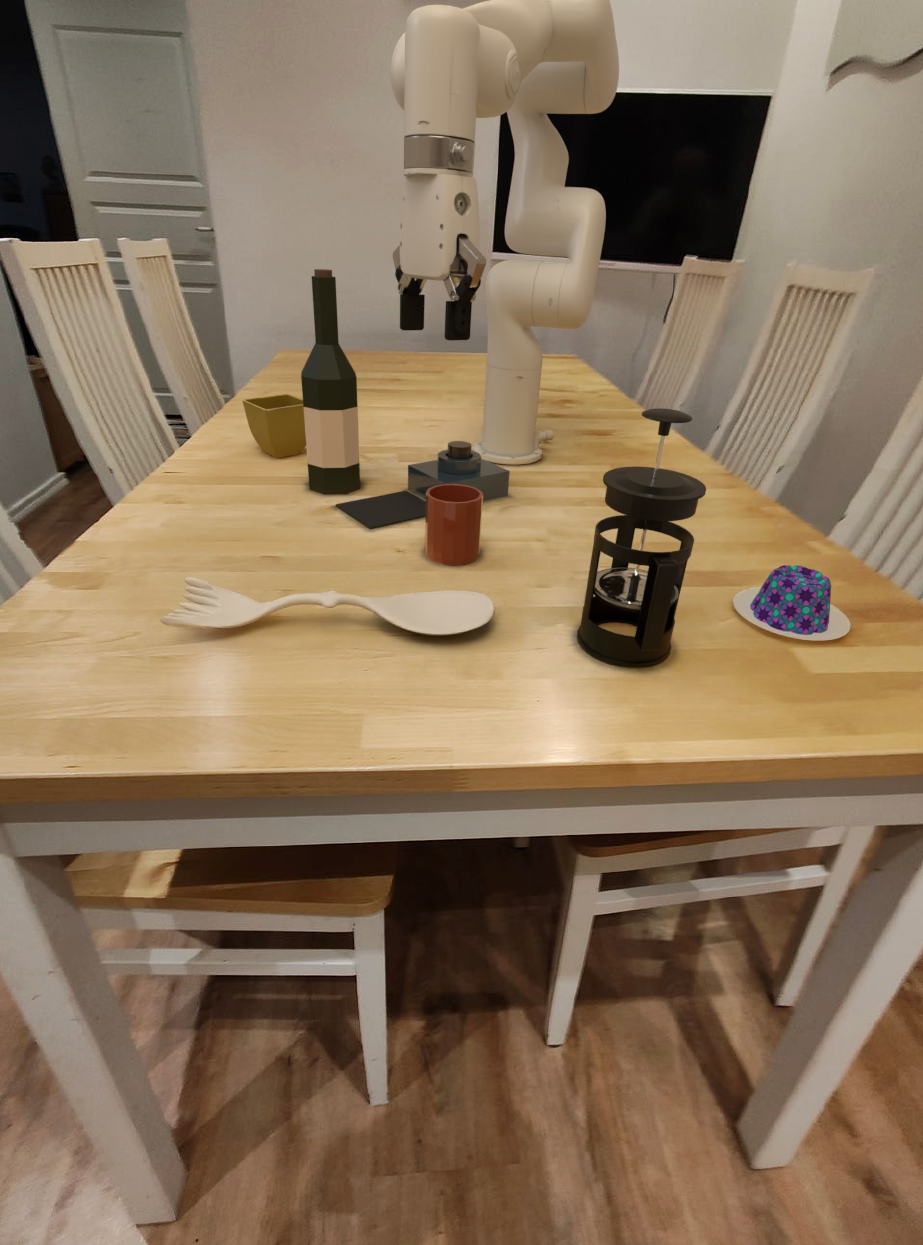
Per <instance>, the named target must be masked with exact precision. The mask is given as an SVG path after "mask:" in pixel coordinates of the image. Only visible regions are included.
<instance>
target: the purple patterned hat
mask: <svg viewBox="0 0 923 1245" xmlns="http://www.w3.org/2000/svg"><path fill="white" fill-rule="evenodd" d="M831 597H832V583H831V580H830V579H829V577H827V575H824V574H823V573H822V572H821V571H818V570H816V569H815V568H814V569H813V568H808V567H806V566H803V565H797V564H796V565H790V564H783V565H781V566H778V567H777V568H774V569H773V570H772V571H771V572H770V573H769V574H768V576H767V578H766V579H765V581H764V582H763V584H762V586H755V587H754V586H753V587H748V588H745V589H742V590H739V591H738V592H736V593H735V595H734V596H733V600H732V604H733V607H734V609H735V610H736V611H737V613H738V614H740V616H742V617H743V618H744V619H745V620H747V621H748V622H750V623H751V624H753V625H755V626H757V627H759V628H761V629H763V630H766V631H768V632H770V633H774V634H777V635H780V636H783V637H787V638H791V639H797V640H805V641H830V640H831V641H832V640H837V639H840V638H842V637H844V636H846V635H847V634H849V632H850V630H851V622H850V619H849V618H848V617H847V615H846V614H845V613H844V612H843V611H842V610H841V609H839V608H838V607H837V606H835V605H833V604H832V603H831V599H832V598H831Z"/></svg>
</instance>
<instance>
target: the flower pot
mask: <svg viewBox="0 0 923 1245" xmlns="http://www.w3.org/2000/svg"><path fill="white" fill-rule="evenodd" d="M241 401H242V405H243V408H244V413H245V416H246V420H247V424H248V428H249V430H250V432H251V435H252V437H253V439H254V441H255V442H256V444H257V445H258V447H259V448H260V449H261V451H262V452H264V453H266V454H267V455H269V456H272V458H276V459H280V458H285V457H289V456H294V455H299V454H302V453H303V452H304V450H305V448H306V435H305V421H304V408H303V398H301V397H297V396H296V395H292V394H290V393H281V394H275V395H269V396H268V395H267V396H263V397H262V396H261V397H252V398H245V399H242V400H241Z"/></svg>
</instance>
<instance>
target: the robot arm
mask: <svg viewBox="0 0 923 1245" xmlns="http://www.w3.org/2000/svg"><path fill="white" fill-rule="evenodd" d="M404 28H405V31H404V33H403V34H402V35H401V36H400V37H399V39H398V41H397V42H396V44H395V46H394V50H393V53H392V57H391V62H390V85H391V89H392V92H393V96H394V99H395V100H396V103H397V104H398V105H399V107H400V108H401V110H402V111H403V177H404V183H403V190H402V200H401V208H400V210H401V211H400V227H399V245H398V246H397V247H396V248H395V249H394V250H393V252H392V261H393V264H394V269H395V273H394V276H395V279H396V281H397V283H398V284H397V292H398V294H399V329H400V330H401V331H423V330H424V329H425V301H426V298H425V297H426V295H425V294H421V293H422V291H423V290H424V287H425V286H426V283H427V280H429V281H436V282H437V281H438V282H440V281H442V282H443V284H444V286H445V289H446V292H447V295H448V297H449V300H446V301H445V309H444V310H445V311H444V312H445V313H444V339H445V340H446V341H468V340H470V338H471V326H472V307H473V302H476V301H475V300H476V297H477V295H476V294H477V292H478V290H479V288H480V287H481V282H482V276H483V274H484V271H485V269H486V265H487V259H486V257H485V256H484V254H482V252H481V251H480V206H479V205H480V204H479V203H480V202H479V194H478V186H477V178H475V177H474V170H475V169H474V166H475V150H476V149H475V148H476V147H475V146H476V144H475V143H476V127H477V125H476V124H477V119H488V118H497V117H500V116H502V115H504V114H505V113H506V115H507V119H508V124H509V127H510V132H511V136H512V140H513V146H514V161H513V168H512V176H511V181H510V189H509V193H508V194H509V195H508V202H507V208H506V213H505V214H506V215H505V221H504V222H505V223H504V239H505V243H506V245H507V247H509V249H510V250H512V251H513V252H515V253H519V254H523V255H533V256H546V257H559V258H561V257H562V258H568V259H569V262H561V261H545V260H539V259H538V260H537V259H536V260H535V259H521V258H520V259H519V258H518V259H507V260H506V259H505V260H501V261H499V262H498V263H496V264H493V266H492V267H491V268H490V270H489V271H488V274H487V275H486V277H485V278H486V279H485V284H484V299H485V300H484V301H485V310H486V320H487V347H486V366H485V383H484V400H483V419H482V420H483V421H482V434H481V441H479V442H476V444H474V445H473V447H472V451H475V452H477V453H479V454H480V455H481V459H483V460H485V461H487V462H490V463H492V464H499V465H510V466H511V465H512V466H513V465H514V466H515V465H517V466H519V465H527V464H533V463H535V462H538V461H540V460H541V459H542V457H543V450H542V449H541V448H540V447H539V444H541V443H542V442H548V441H549V442H550V441H552V440H553V439H554V438H555V433H554V431H553V430H552V429H547V430H546V429H545V430H541V431H540V429H538V428H537V420H538V410H539V401H540V400H539V398H540V388H541V378H542V370H543V369H542V368H543V359H544V358H543V356H544V355H543V350H542V347H541V344H540V342H539V340H538V338H537V337H536V335H535V333H534V331H533V330H532V327H533V328H534V327H536V328H537V327H540V328H550V329H551V328H552V329H563V330H564V329H566V330H572V329H573V330H574V329H578V328H579V329H580V327H582V326H584V324H585V323H586V322H587V320H588V319H589V316H590V312H591V309H592V305H593V301H594V296H595V291H596V290H595V289H596V284H597V279H598V278H597V277H598V272H599V266H600V263H601V262H600V261H601V257H602V256H601V255H602V250H603V244H604V240H605V232H606V223H607V222H606V220H607V210H606V204H605V203H606V202H605V200H604V197H603V196H602V194H601V193H600V192H599V191H598V190H596V189H593V188H589V187H578V186H577V187H576V186H566V180H567V173H568V166H569V162H570V156H569V152H568V149H567V146H566V144H565V141H564V140H563V138H562V136H561V134H560V133H559V131H558V129H557V128H556V127H555V125H554V124H553V123H552V121H551V119H550V118H549V116H548V115H547V114H555V115H556V114H557V115H593V114H600V113H603V112H604V111H606V110H607V109H608V108H609V107H610V106H611V105H612V103H613V101H614V99H615V97H616V93H617V90H618V86H619V80H620V58H619V49H618V42H617V35H616V28H615V19H614V14H613V9H612V3H611V0H485V1H481V2H478V3H474V4H471V5H469V6H466V7H462V8H461V7H457V6H454V5H448V4H427V5H423V6H420V7H417V8H415V9H414V10H412V11H411V13H410V14H409V15H408V17H407V19H406V23H405V27H404ZM457 284H458V285H457Z"/></svg>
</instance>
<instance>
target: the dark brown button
mask: <svg viewBox="0 0 923 1245" xmlns="http://www.w3.org/2000/svg"><path fill="white" fill-rule="evenodd" d="M472 446H473V444H472V443H471V442H468V441H466V440H465V441H463V440H452V441H448V443H447V450H448V452H447V457H449V458H453V459H468V458H471V451H473V447H472Z"/></svg>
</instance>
